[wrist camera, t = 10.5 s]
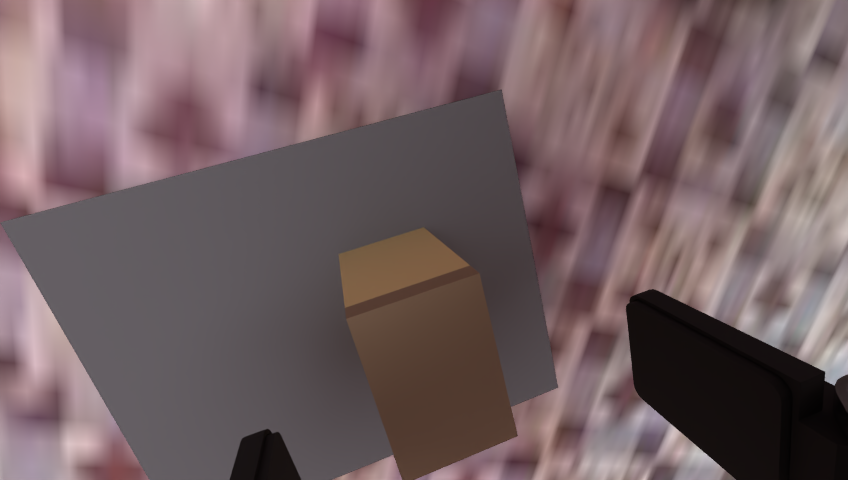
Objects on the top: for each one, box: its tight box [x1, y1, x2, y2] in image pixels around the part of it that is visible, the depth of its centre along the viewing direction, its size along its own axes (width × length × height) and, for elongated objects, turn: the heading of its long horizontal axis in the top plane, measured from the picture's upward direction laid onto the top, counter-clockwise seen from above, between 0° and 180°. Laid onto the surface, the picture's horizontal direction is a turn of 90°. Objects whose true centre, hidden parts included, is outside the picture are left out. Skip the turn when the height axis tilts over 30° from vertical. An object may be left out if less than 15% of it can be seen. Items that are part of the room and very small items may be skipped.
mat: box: [0, 90, 558, 480], centre depth 19 cm, size 20×16×1 cm
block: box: [339, 227, 518, 480], centre depth 15 cm, size 4×6×7 cm, turn 15°
